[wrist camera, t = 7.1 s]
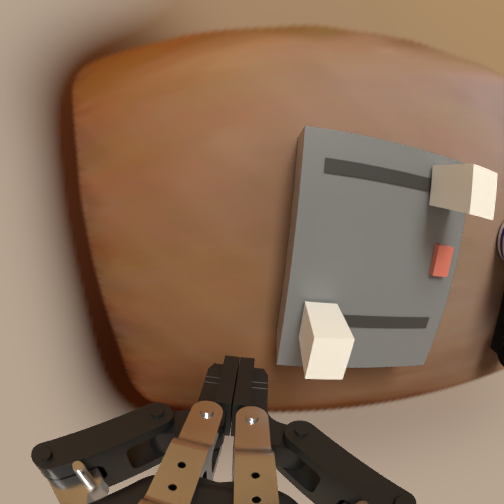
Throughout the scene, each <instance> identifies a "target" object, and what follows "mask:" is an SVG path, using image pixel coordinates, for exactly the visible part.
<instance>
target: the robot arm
mask: <svg viewBox="0 0 504 504" xmlns="http://www.w3.org/2000/svg"><path fill="white" fill-rule="evenodd" d="M239 359H240V364H239ZM254 360H255V359H254V358H244V357H241V358H240V357H235V356H227V355H226V356H225V359H224V364H215V363H214V364H213V365H212V366H211V367H210V368H209V369H208V372H207V375H206V378H205V382H204V385H203V388H202V391H201V394H200V397H199V401H198V402H197V403H196V404H194V405H193V406H192V408H191V409H189V410H185V411H172V409H171V408H170V407H169V406H168V405H166V404H163V403H150V404H148V405H145V406H143V407H141V408H139V409H136V410H134V411H131V412H129V413H126V414H124V415H121V416H119V417H116V418H114V419H111V420H109V421H106V422H103V423H101V424H98V425H95V426H93V427H90V428H87V429H84V430H81V431H78V432H76V433H72V434H69V435H66V436H63V437H60V438H57V439H54V440H51V441H47V442H43V443H40V444H38V445H36V446H35V447H34V448H33V450H32V453H31V457H32V460H33V462H34V463H35V465H36V466H37V467H38V468H39V470H40V471H41V473H42V474H43V475H44V476H45V478H46V479H47V480H48V481H49V483H50V485H51V487H52V489H53V491H54V493H55V495H56V497H57V499H58V500H59V502H60V504H298V503H296V501H294V500H293V499H292V498H291V497H289V496H288V495H286V494H284V493H282V492H280V491H278V486H277V477H276V468H277V470H278V471H279V472H280V473H281V474H282V475H284V477H286V478H287V479H288V480H289V481H290V482H291V483H292V484H293V485H294V486H295V487H296V488H297V489H298V490H300V491H301V492H302V493H303V494H304V495H305V496H306V497H308V498H309V499H310V500H311V501H312V502H313V503H315V504H416V500H415V498H414V496H413V495H412V494H410V493H409V492H407V491H405V490H404V489H402V488H401V487H399V486H397V485H396V484H394V483H393V482H391V481H390V480H388V479H386V478H385V477H383V476H382V475H380V474H379V473H377V472H376V471H374V470H373V469H371V468H370V467H368V466H367V465H366V464H364V463H363V462H361V461H360V460H359V459H357V458H356V457H354V456H353V455H352V454H350V453H349V452H347V451H346V450H345V449H343V448H342V447H341V446H339V445H338V444H337V443H335V442H334V441H333V440H331V439H330V438H329V437H327V436H326V435H325V434H324V433H322V432H321V431H320V430H319V429H317V428H316V427H315V426H314V425H312V424H311V423H309V422H306V421H293V422H291V423H289V424H288V425H286V424H283V423H279V422H277V421H275V420H273V419H272V418H271V417H270V416H269V414H268V412H267V394H268V375H267V373H266V372H265V370H264V369H260V368H254ZM231 422H232V425H231ZM230 428H231V436H234V446H233V466H232V482H221V483H220V482H219V483H218V482H215V481H213V476H214V473H215V469H216V466H217V462H218V459H219V456H220V452H221V449H222V444H223V441H224V436H225V435H228V436H229V435H230ZM160 463H161V464H160ZM158 464H160V466H159V468H158V470H157V472H156V474H155V475H152V476H148V477H145V478H143V479H141V480H139V481H137V482H135V483H133V484H131V485H129V486H127V487H125V488H123V489H121V490H118V491H116V492H114V493H112V494H110V495H108V496H107V494H108V492H109V487H110V486H112V485H115V484H117V483H119V482H122V481H124V480H126V479H128V478H130V477H133V476H135V475H137V474H139V473H142V472H144V471H146V470H148V469H150V468H152V467H154V466H156V465H158Z"/></svg>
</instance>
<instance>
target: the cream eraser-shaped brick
mask: <svg viewBox="0 0 504 504" xmlns="http://www.w3.org/2000/svg"><path fill="white" fill-rule="evenodd" d="M354 340H355V339H354V337H353V335H352V333H351V331H350V328H349V326H348V324H347V322H346V320H345V318H344V316H343V314H342V312H341V310H340V308H339V306H338V304H334V303H320V302H307V301H305V304H304V310H303V316H302V321H301V327H300V332H299V343H300V349H301V356H302V362H303V369H304V376H305V379H343V376H344V373H345V370H346V367H347V364H348V361H349V357H350V354H351V351H352V347H353V344H354Z"/></svg>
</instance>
